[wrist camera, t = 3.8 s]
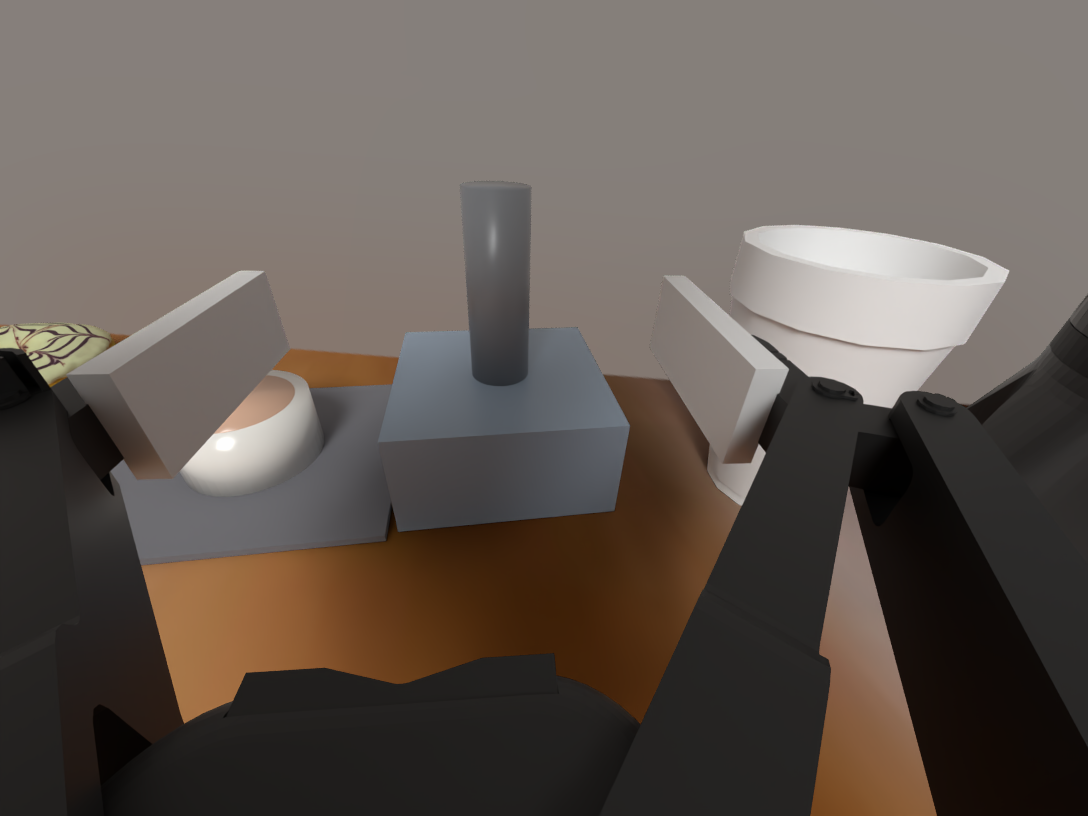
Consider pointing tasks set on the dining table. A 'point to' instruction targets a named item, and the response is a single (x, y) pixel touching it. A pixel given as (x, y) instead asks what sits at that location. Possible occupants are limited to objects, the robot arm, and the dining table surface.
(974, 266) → the foam cup
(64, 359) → the decorated donut
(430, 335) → the cover
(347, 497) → the mat
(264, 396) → the bowl
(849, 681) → the dining table surface
